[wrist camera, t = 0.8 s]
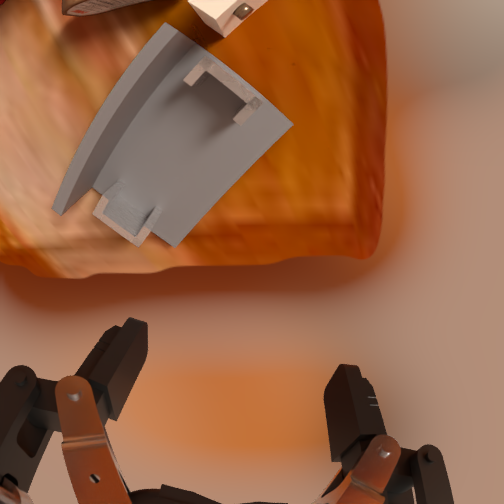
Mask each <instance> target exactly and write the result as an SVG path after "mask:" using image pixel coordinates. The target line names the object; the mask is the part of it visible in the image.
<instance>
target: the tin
mask: <svg viewBox="0 0 504 504" xmlns="http://www.w3.org/2000/svg"><path fill="white" fill-rule="evenodd" d="M147 1H152V0H62V14H63V15H67V16H78V17H81V16H88V15H94V14H99V13H103V12H107V11H110V10H114V9H118V8H121V7H125V6H130V5H134V4H138V3H142V2H147Z"/></svg>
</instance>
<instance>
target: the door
mask: <svg viewBox="0 0 504 504" xmlns="http://www.w3.org/2000/svg"><path fill="white" fill-rule="evenodd" d="M266 1H268V0H189V1H188V2H189V4H190V5H191V6H192V7H193V9H194V10H195V11H196V12H197V14H198V15H199V16H200V18H201V19H202V20H203V22H204V23H205V24H206V25H208V26H209V27H211V28H212V29H214V30H215V31H216V32H218V33H219V34H221V35H222V36H223V37H226V36H227V35H228V34H230V33H231V32H232V31H233V30H234V29H235V28H236V27H237V26H238V25H239V24H240V23H241V22H243V21H244V20H245V19H246V18H247V17H248V16H249V15H251V14H252V13H253V12H254V11H255V10H257V9H258V8H259V7H260V6H261V5H263V4H264V3H265V2H266Z"/></svg>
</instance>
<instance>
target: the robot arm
mask: <svg viewBox="0 0 504 504" xmlns="http://www.w3.org/2000/svg"><path fill="white" fill-rule="evenodd" d="M147 352H148V325H147V323H146V322H144V321H140V320H137V319H134V318H131V317H130V318H128V319H127V321H126V322H125V323H124V325H123V326H122V327H119V326H116V325H115V326H113V327H112V328H110V329H109V330H107V331H105V333H104V334H103V336H102V337H101V338H100V339H99V342H97V344H96V345H95V346H94V349H92V351H91V352H90V353H89V355H88V356H87V358H86V359H85V361H84V362H83V364H82V365H81V366H80V368H79V369H78V371H77V372H76V374H75V375H73V376H66V377H64V378H62V379H61V380H60V381H51V380H46V379H41V378H37V377H36V374H35V373H34V371H33V370H32V369H31V368H29V367H27V366H24V365H19V366H15V367H13V368H11V369H10V370H9V371H8V372H7V374H6V375H5V377H4V378H3V379H2V381H1V382H0V504H33V501H32V499H31V498H30V497H29V495H28V494H27V493H28V490H29V487H30V485H31V482H32V480H33V477H34V475H35V472H36V470H37V467H38V465H39V463H40V460H41V458H42V456H43V453H44V451H45V449H46V447H47V445H48V442H49V440H50V438H51V436H52V434H53V432H54V431H58V432H62V434H63V442H62V451H63V455H64V459H65V463H66V466H67V470H68V473H69V477H70V480H71V483H72V486H73V489H74V492H75V495H76V498H77V500H78V503H79V504H221V503H218V502H216V501H213V500H211V499H208V498H206V497H204V496H201V495H199V494H196V493H194V492H191V491H187V490H183V489H179V488H175V487H171V486H167V485H164V484H162V485H161V489H142V490H137V491H133V492H131V491H130V489H129V487H128V485H127V483H126V480H125V478H124V476H123V474H122V472H121V470H120V467H119V465H118V463H117V460H116V457H115V455H114V452H113V449H112V447H111V444H110V441H109V438H108V435H107V432H106V429H105V424H106V422H107V420H108V418H110V419H112V420H115V421H117V419H118V417H119V415H120V413H121V410H122V408H123V406H124V404H125V402H126V400H127V398H128V396H129V393H130V391H131V389H132V387H133V385H134V383H135V381H136V379H137V377H138V375H139V373H140V371H141V369H142V367H143V365H144V363H145V360H146V357H147ZM324 405H325V412H326V419H327V427H328V435H329V443H330V451H331V460H332V462H341V463H342V467H341V468H340V469H339V470H338V472H337V473H336V475H335V476H334V477H333V479H332V480H331V481H330V483H329V484H328V485H327V487H326V488H325V489H324V490H323V492H322V493H321V494H320V495H319V497H318V498H317V499H316V500H315V501H314V502H313V503H312V504H414V498H413V492H412V487H414V489H415V494H416V501H417V504H454V501H453V496H452V492H451V487H450V483H449V479H448V475H447V471H446V467H445V464H444V460H443V456H442V454H441V452H440V450H439V449H438V448H437V447H435V446H433V445H424V446H422V447H421V448H420V449H418V450H417V451H415V450H411V449H406V448H401V447H400V445H399V443H398V442H397V441H396V440H395V439H394V438H393V437H391V436H389V435H387V433H386V429H385V426H384V422H383V419H382V415H381V412H380V409H379V406H378V402H377V399H376V395H375V392H374V389H373V387H372V385H371V384H370V383H369V381H368V380H367V379H366V378H362V376H361V372H360V369H359V367H358V366H357V365H347V364H340V365H339V366H338V368H337V369H336V371H335V373H334V374H333V376H332V378H331V379H330V381H329V383H328V384H327V386H326V388H325V391H324ZM242 504H288V503H268V502H253V503H242Z"/></svg>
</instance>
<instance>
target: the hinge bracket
mask: <svg viewBox="0 0 504 504" xmlns="http://www.w3.org/2000/svg"><path fill="white" fill-rule="evenodd" d="M292 125H294V124H293V123H292V122H291V121H290V120H289V119H287V118H286V117H285V116H284V115H283V114H282V113H281V112H280V111H279V110H278V109H277V108H276V107H275V106H273V105H272V104H271V103H270V102H269V101H268V100H267V99H266V98H265V97H263V96H262V95H261V94H260V93H259V92H258V91H256V90H255V89H254V88H253V87H252V86H251V85H249V84H248V83H247V82H246V81H245V80H243V79H242V78H241V77H240V76H239V75H237V74H236V73H235V72H234V71H232V70H231V69H230V68H229V67H227V66H226V65H225V64H223V63H222V62H221V61H220V60H218V59H217V58H216V57H214V56H213V55H212V54H210V53H209V52H208V51H206V50H205V49H203V48H202V47H201V46H199V45H198V44H196V43H195V42H194V41H192V40H191V39H189V38H188V37H187V36H185V35H184V34H182V33H181V32H179V31H178V30H176V29H175V28H173V27H172V26H170V25H169V24H167V23H164V24H163V25H162V26H161V27H160V29H159V30H158V31H157V32H156V33H155V34H154V35H153V37H152V38H151V39H150V40H149V41H148V43H147V44H146V45H145V46H144V47H143V49H142V50H141V51H140V52H139V54H138V55H137V56H136V57H135V59H134V60H133V61H132V63H131V64H130V65H129V67H128V68H127V69H126V71H125V72H124V74H123V75H122V76H121V78H120V79H119V81H118V82H117V83H116V85H115V86H114V88H113V89H112V91H111V92H110V94H109V95H108V97H107V99H106V100H105V102H104V103H103V105H102V107H101V108H100V110H99V111H98V113H97V115H96V116H95V118H94V120H93V122H92V123H91V125H90V127H89V129H88V130H87V132H86V134H85V136H84V138H83V140H82V142H81V144H80V145H79V147H78V149H77V151H76V153H75V155H74V158H73V160H72V162H71V164H70V166H69V168H68V170H67V172H66V175H65V177H64V179H63V182H62V184H61V186H60V189H59V191H58V194H57V196H56V199H55V201H54V204H53V206H52V209H53V210H54V211H55V212H57V213H58V214H59V215H60V216H62V215H63V214H64V213H65V212H66V211H67V210H68V209H69V208H70V207H71V206H72V205H73V204H74V203H75V202H76V201H77V200H79V199H80V198H81V197H82V196H83V195H84V194H85V193H86V192H87V191H89V190H90V189H91V188H94V189H95V190H96V191H98V192H99V193H100V194H102V197H101V199H100V200H99V202H98V204H97V206H96V208H95V210H94V212H93V213H92V214H93V215H94V216H96V217H97V218H98V219H100V220H101V221H102V222H104V223H105V224H106V225H108V226H109V227H110V228H112V229H113V230H115V231H116V232H117V233H119V234H120V235H121V236H123V237H124V238H126V239H127V240H128V241H130V242H131V243H133V244H134V245H135V246H137V247H138V248H139V246H140V245H141V244H142V242H143V241H144V240H145V238H146V237H147V236H148V234H149V233H150V232H151V231H152V232H153V233H155V234H156V235H157V236H159V237H160V238H162V239H163V240H164V241H166V242H167V243H169V244H170V245H171V246H173V247H174V248H175V247H176V246H177V245H178V244H179V243H180V242H181V241H182V239H183V238H184V237H185V236H186V235H187V234H188V233H189V232H190V230H191V229H192V228H193V227H194V226H195V225H196V224H197V223H198V222H199V220H200V219H201V218H202V217H203V216H204V215H205V214H206V213H207V212H208V211H209V210H210V208H211V207H212V206H213V205H214V204H215V203H216V202H217V201H218V200H219V199H220V198H221V197H222V196H223V195H224V194H225V192H226V191H227V190H228V189H229V188H230V187H231V186H232V185H233V184H234V183H235V182H236V181H237V180H238V179H239V178H240V177H241V176H242V175H243V174H244V173H245V172H246V171H247V170H248V169H249V168H250V167H251V166H252V165H253V164H254V163H255V162H256V161H257V160H258V159H259V158H260V157H261V156H262V155H263V154H264V153H265V152H266V151H267V150H268V149H269V148H270V147H271V146H272V145H273V144H274V143H275V142H276V141H277V140H278V139H279V138H280V137H281V136H282V135H283V134H284V133H285V132H286V131H287V130H288V129H289V128H290V127H291V126H292Z"/></svg>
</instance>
